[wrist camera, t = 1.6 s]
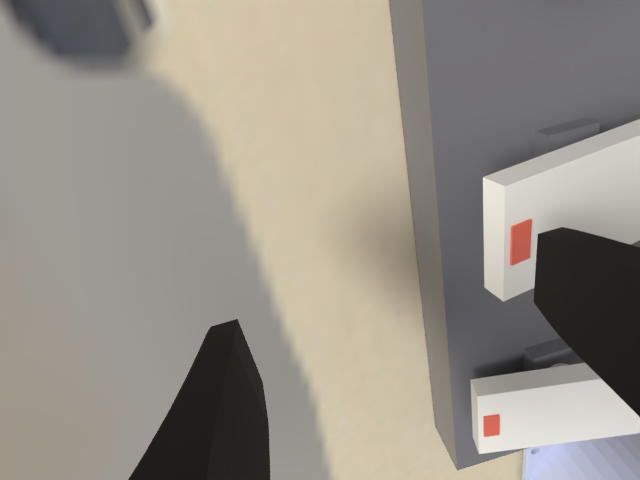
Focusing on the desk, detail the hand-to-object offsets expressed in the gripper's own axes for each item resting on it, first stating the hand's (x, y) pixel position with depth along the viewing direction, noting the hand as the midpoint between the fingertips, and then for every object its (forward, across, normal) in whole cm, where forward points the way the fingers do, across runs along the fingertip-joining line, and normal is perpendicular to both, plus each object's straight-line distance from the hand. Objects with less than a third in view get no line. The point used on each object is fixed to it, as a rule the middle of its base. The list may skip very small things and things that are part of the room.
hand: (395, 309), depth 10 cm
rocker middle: (+2, -7, 0) cm, 7 cm away
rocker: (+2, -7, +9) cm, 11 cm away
